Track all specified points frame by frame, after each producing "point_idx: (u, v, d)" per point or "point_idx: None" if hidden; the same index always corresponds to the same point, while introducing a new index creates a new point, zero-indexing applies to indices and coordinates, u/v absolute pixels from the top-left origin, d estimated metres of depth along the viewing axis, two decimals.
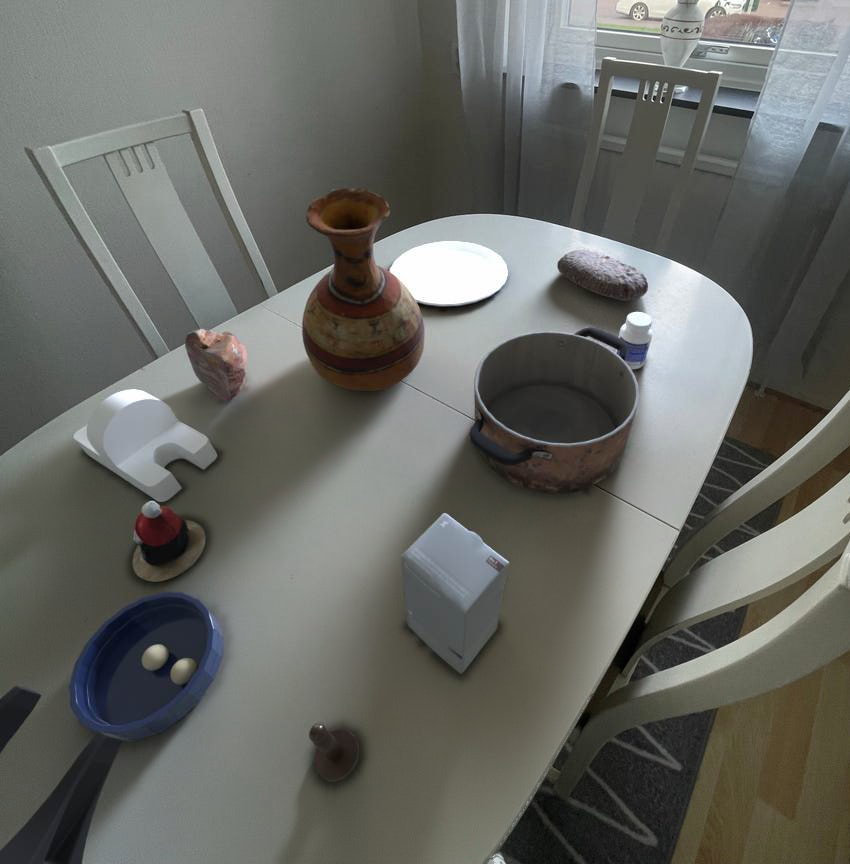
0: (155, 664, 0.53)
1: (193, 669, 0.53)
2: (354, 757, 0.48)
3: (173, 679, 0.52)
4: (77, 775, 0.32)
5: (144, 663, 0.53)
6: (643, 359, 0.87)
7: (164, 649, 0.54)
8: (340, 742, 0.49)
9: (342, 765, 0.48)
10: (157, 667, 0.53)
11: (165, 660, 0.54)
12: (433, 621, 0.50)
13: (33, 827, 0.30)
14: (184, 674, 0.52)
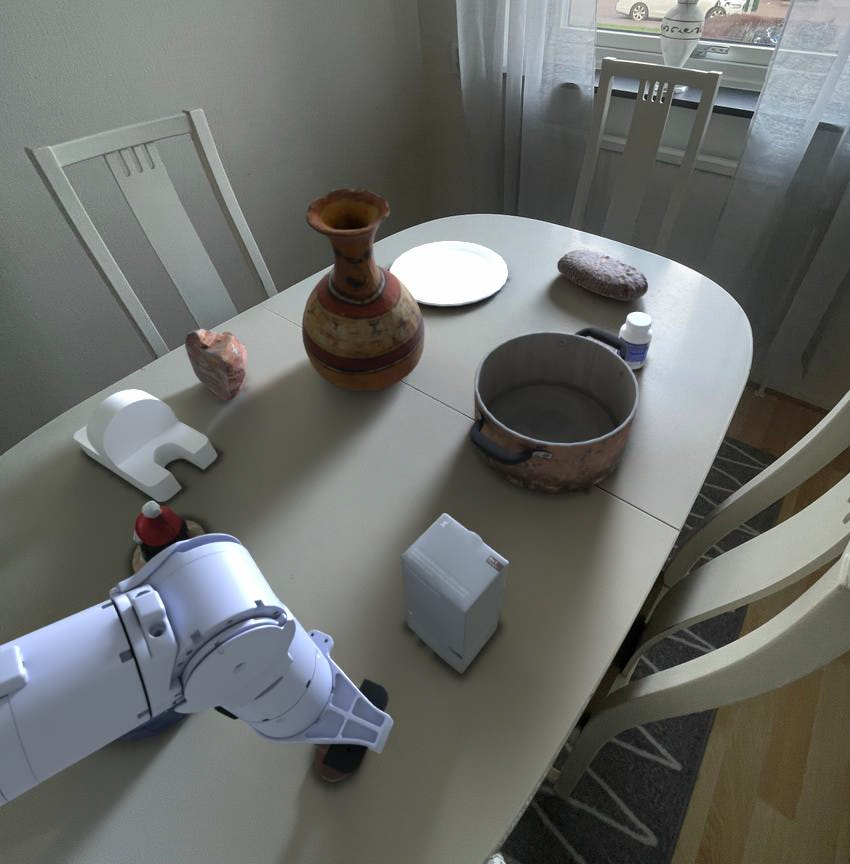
0: None
1: None
2: None
3: None
4: None
5: None
6: (643, 359, 0.87)
7: None
8: None
9: None
10: None
11: None
12: (433, 621, 0.50)
13: None
14: None
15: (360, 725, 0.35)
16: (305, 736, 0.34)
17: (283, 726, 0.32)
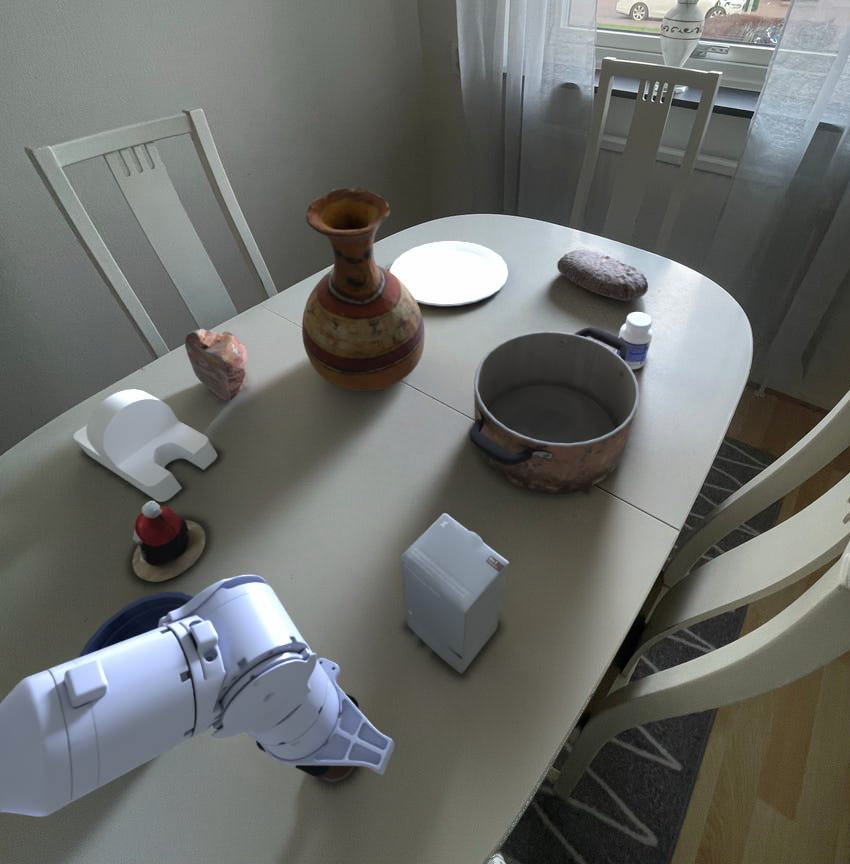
0: None
1: None
2: None
3: None
4: None
5: None
6: (643, 359, 0.87)
7: None
8: None
9: None
10: None
11: None
12: (433, 621, 0.50)
13: None
14: None
15: (365, 748, 0.38)
16: (314, 758, 0.37)
17: (296, 749, 0.35)
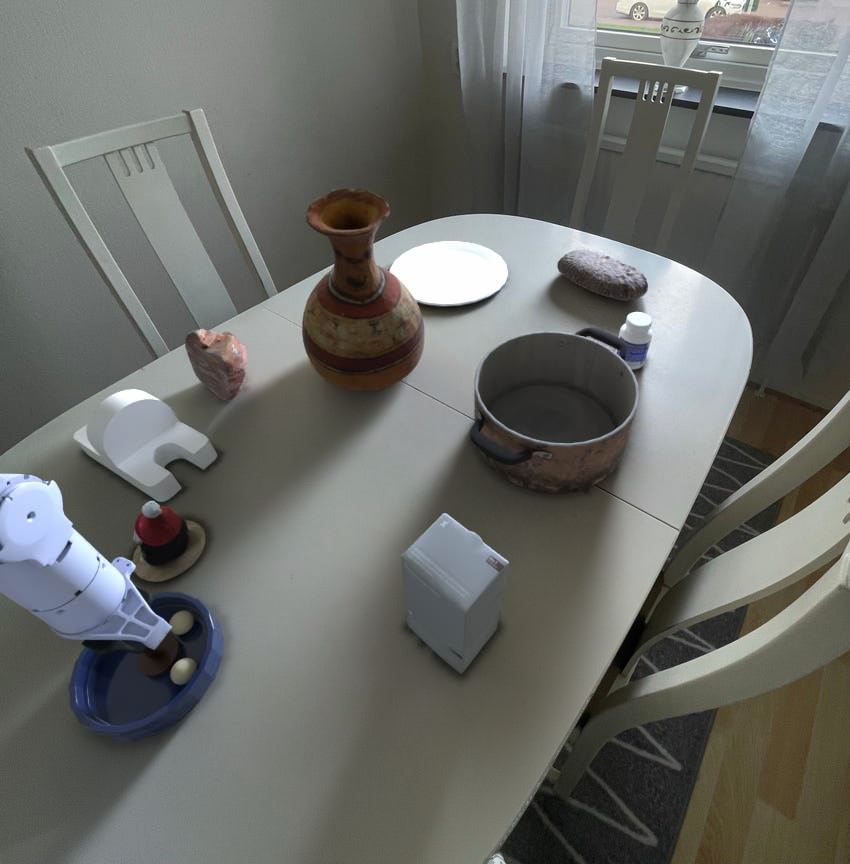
0: None
1: (193, 669, 0.53)
2: (173, 657, 0.54)
3: (173, 679, 0.52)
4: None
5: None
6: (643, 359, 0.87)
7: None
8: (163, 645, 0.55)
9: (161, 663, 0.54)
10: (193, 619, 0.57)
11: (188, 626, 0.56)
12: (433, 621, 0.50)
13: None
14: (184, 674, 0.52)
15: (138, 626, 0.43)
16: (91, 632, 0.43)
17: (66, 619, 0.41)
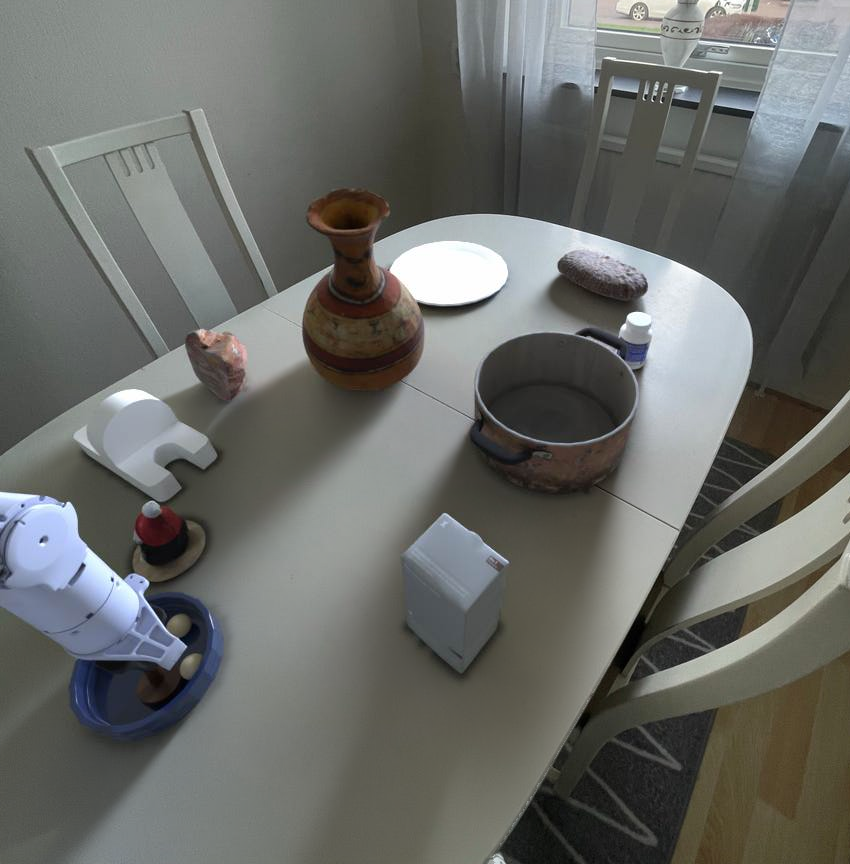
0: (191, 623, 0.57)
1: None
2: (173, 687, 0.52)
3: (186, 670, 0.52)
4: None
5: None
6: (643, 359, 0.87)
7: None
8: (166, 673, 0.53)
9: (160, 692, 0.51)
10: (189, 622, 0.56)
11: (185, 631, 0.56)
12: (433, 621, 0.50)
13: None
14: None
15: (153, 646, 0.42)
16: (104, 653, 0.42)
17: (79, 640, 0.40)
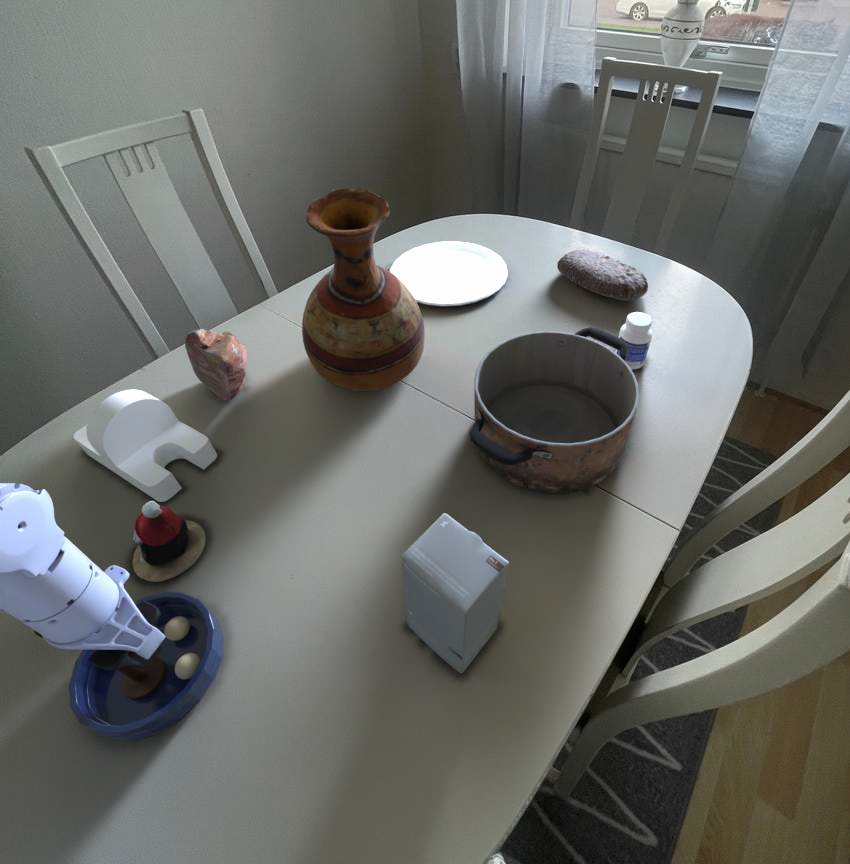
0: (189, 624, 0.56)
1: (198, 664, 0.53)
2: (156, 681, 0.53)
3: (177, 670, 0.52)
4: None
5: (184, 617, 0.57)
6: (643, 359, 0.87)
7: (182, 637, 0.56)
8: (149, 667, 0.54)
9: (144, 686, 0.52)
10: (186, 625, 0.56)
11: (183, 634, 0.56)
12: (433, 621, 0.50)
13: None
14: (189, 666, 0.53)
15: (131, 635, 0.43)
16: (83, 642, 0.42)
17: (58, 629, 0.41)
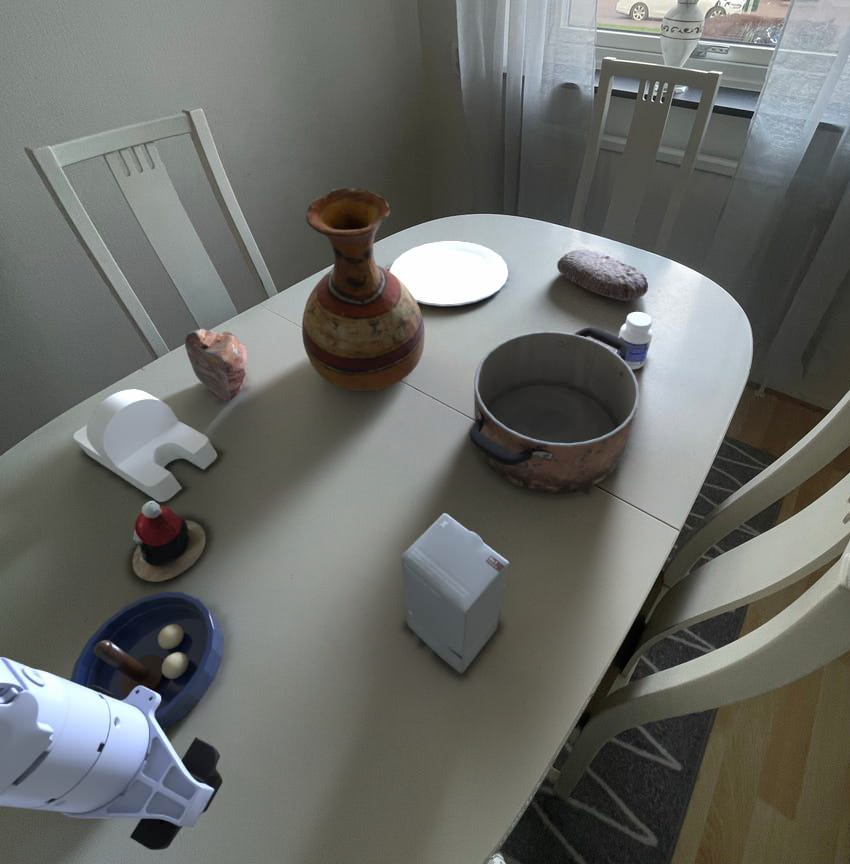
0: (179, 632, 0.55)
1: (173, 660, 0.53)
2: (156, 681, 0.53)
3: None
4: (216, 771, 0.38)
5: (173, 625, 0.56)
6: (643, 359, 0.87)
7: None
8: (149, 667, 0.54)
9: (144, 686, 0.52)
10: (175, 636, 0.55)
11: (178, 643, 0.55)
12: (433, 621, 0.50)
13: None
14: (164, 664, 0.53)
15: (169, 798, 0.32)
16: (106, 811, 0.31)
17: (69, 806, 0.29)
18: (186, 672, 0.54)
